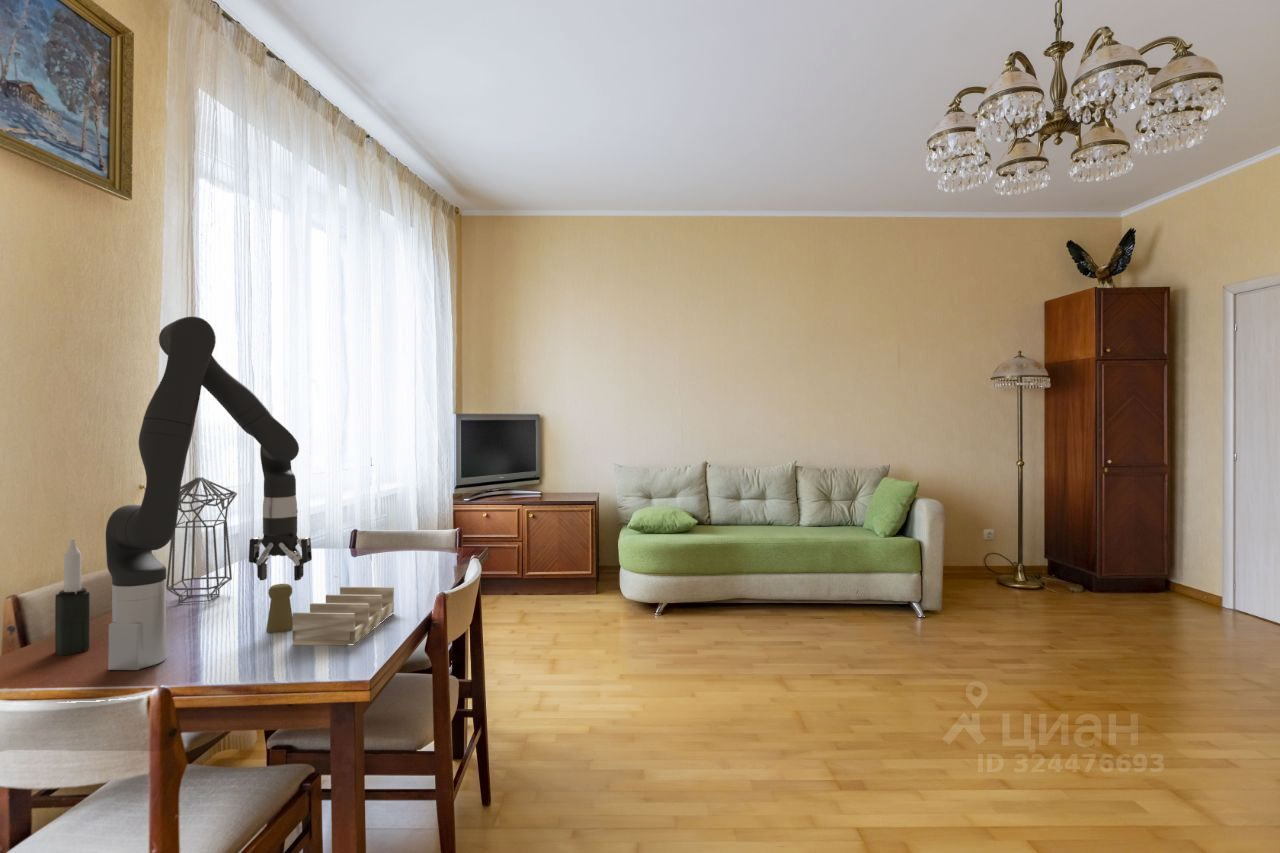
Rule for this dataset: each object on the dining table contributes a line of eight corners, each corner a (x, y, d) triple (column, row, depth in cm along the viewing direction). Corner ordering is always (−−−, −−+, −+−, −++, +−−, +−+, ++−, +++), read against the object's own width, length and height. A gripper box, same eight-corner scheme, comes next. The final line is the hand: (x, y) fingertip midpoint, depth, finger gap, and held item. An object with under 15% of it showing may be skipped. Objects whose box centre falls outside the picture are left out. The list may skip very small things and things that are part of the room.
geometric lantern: (239, 591, 202) (240, 474, 202) (218, 606, 187) (219, 479, 187) (180, 594, 199) (180, 475, 199) (154, 608, 183) (154, 479, 183)
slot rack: (353, 645, 155) (353, 614, 155) (292, 644, 155) (292, 613, 155) (393, 614, 181) (393, 587, 181) (341, 613, 181) (341, 586, 181)
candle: (62, 656, 146) (63, 541, 146) (53, 652, 149) (53, 538, 149) (91, 649, 151) (91, 537, 151) (81, 645, 153) (82, 535, 153)
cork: (282, 633, 163) (282, 588, 163) (260, 631, 165) (260, 586, 164) (299, 626, 169) (299, 582, 169) (278, 624, 170) (278, 581, 170)
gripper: (242, 516, 163) (242, 583, 163) (301, 516, 163) (302, 583, 164) (259, 512, 170) (259, 576, 171) (316, 512, 171) (316, 576, 171)
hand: (280, 579), depth 167 cm, fingers open, 8 cm apart
